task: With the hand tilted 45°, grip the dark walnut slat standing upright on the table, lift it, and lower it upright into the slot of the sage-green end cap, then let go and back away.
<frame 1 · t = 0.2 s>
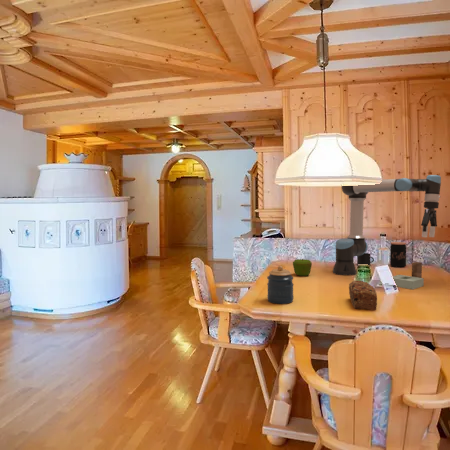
hand: (428, 237, 212), 27 cm above the table, tool pointing down, fingers open, 13 cm apart
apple: (302, 275, 240), on the table
coffee jar: (397, 266, 267), on the table
canister: (280, 301, 179), on the table
slat: (416, 282, 215), on the table
bread: (362, 304, 171), on the table
end cap: (405, 285, 207), on the table
mug: (365, 265, 274), on the table
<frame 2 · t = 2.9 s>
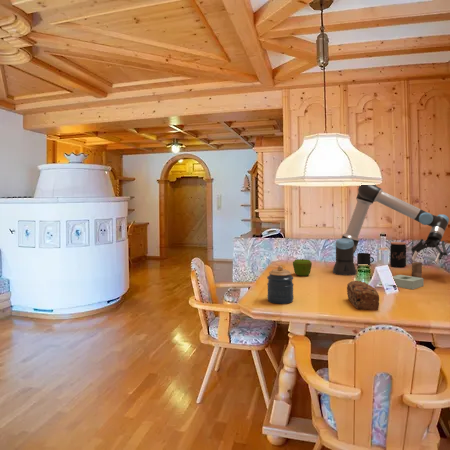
hand: (424, 261, 218), 12 cm above the table, tool tilted 45°, fingers open, 13 cm apart
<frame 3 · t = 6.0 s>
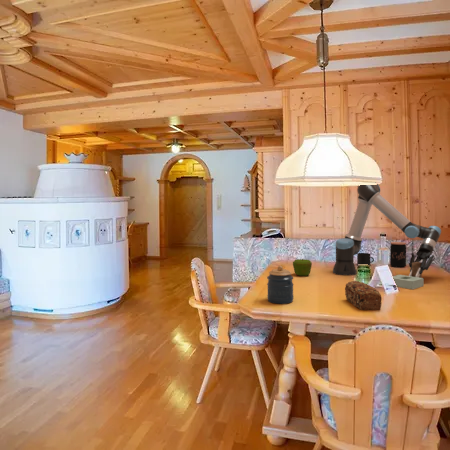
hand: (413, 277, 212), 4 cm above the table, tool tilted 45°, fingers closed on slat, 3 cm apart
slat: (416, 282, 215), on the table, touching gripper
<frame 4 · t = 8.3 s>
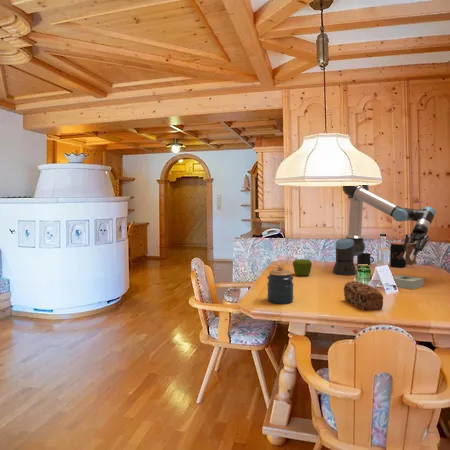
hand: (407, 258, 206), 16 cm above the table, tool tilted 45°, fingers closed on slat, 3 cm apart
slat: (410, 264, 208), point 12 cm above the table, touching gripper
when the fingers open (7 cm above the table, at t = 11.1 s): slat drops 3 cm, resting in end cap.
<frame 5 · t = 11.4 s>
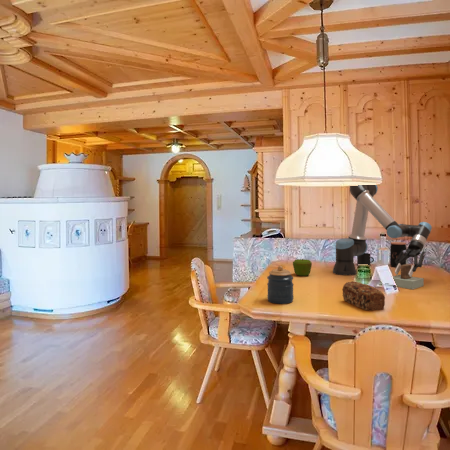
hand: (402, 274, 205), 7 cm above the table, tool tilted 45°, fingers open, 7 cm apart
slat: (405, 285, 207), resting in end cap
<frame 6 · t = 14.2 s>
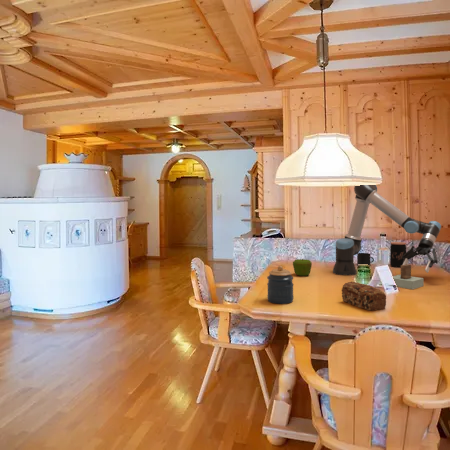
hand: (414, 269, 212), 8 cm above the table, tool tilted 45°, fingers open, 13 cm apart
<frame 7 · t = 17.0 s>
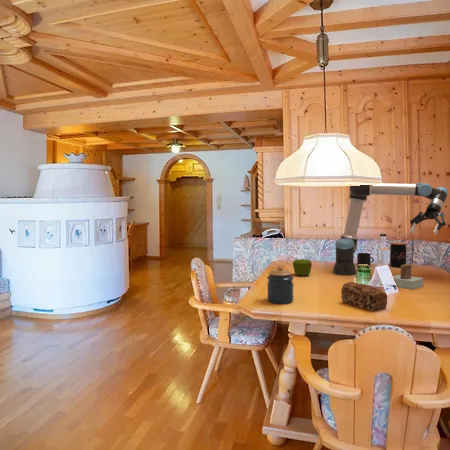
hand: (422, 232, 217), 30 cm above the table, tool tilted 45°, fingers open, 13 cm apart
at the end: slat 0.0 cm off-centre on the end cap, point 0.0 cm above the end cap's base; slat tilted 0°; the gripper is holding nothing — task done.
